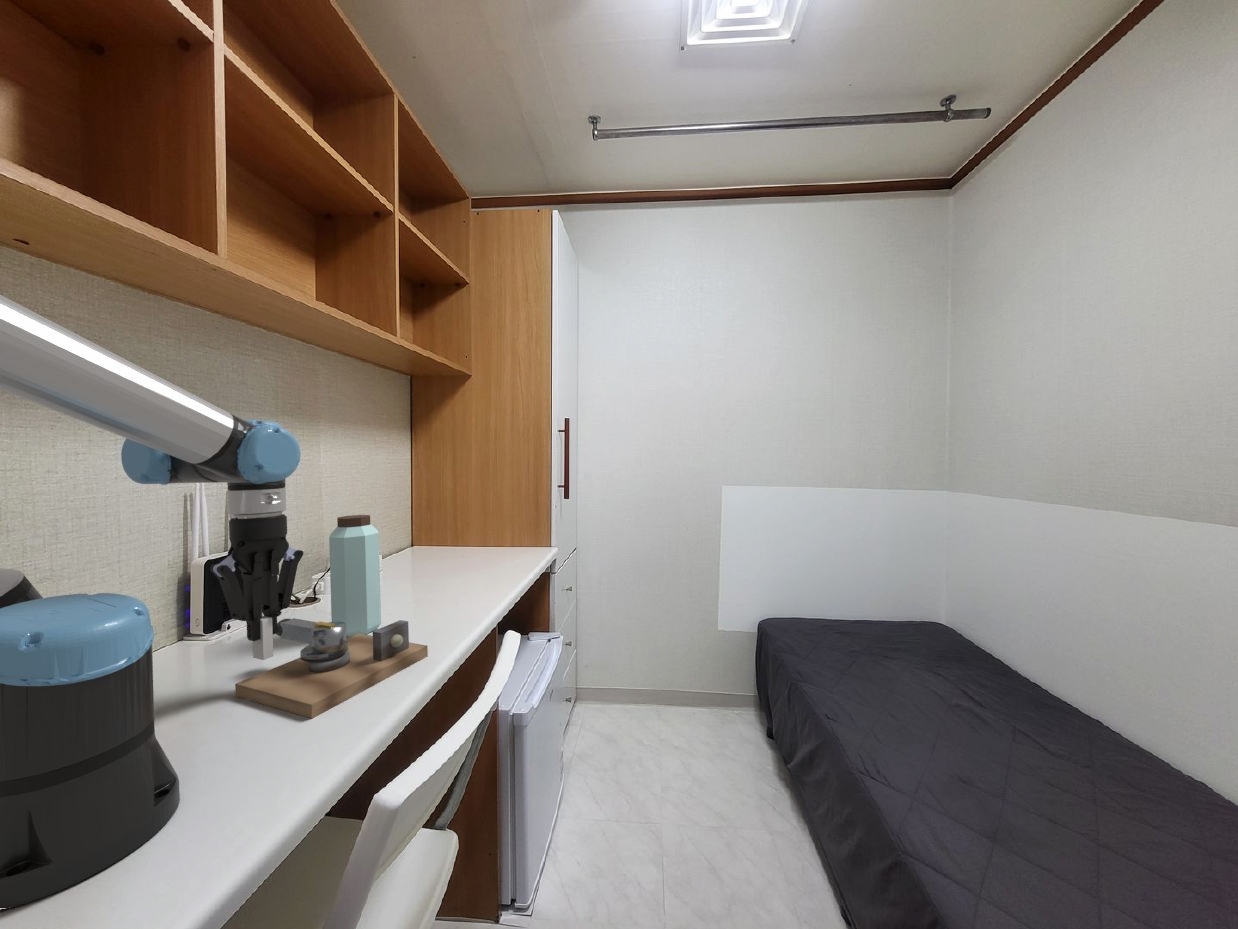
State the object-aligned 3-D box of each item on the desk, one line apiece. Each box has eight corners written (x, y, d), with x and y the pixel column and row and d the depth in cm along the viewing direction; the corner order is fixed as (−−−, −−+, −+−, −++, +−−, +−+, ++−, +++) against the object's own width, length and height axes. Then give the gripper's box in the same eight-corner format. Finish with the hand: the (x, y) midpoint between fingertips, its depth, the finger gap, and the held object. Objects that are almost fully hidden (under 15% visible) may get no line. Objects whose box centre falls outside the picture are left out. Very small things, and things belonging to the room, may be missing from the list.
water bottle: (342, 643, 94) (338, 521, 93) (322, 632, 100) (319, 517, 99) (391, 628, 102) (388, 515, 101) (370, 619, 108) (367, 512, 107)
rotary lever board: (312, 718, 66) (310, 670, 66) (235, 696, 73) (233, 652, 73) (427, 656, 87) (426, 619, 87) (359, 643, 93) (358, 609, 93)
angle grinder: (358, 648, 82) (357, 619, 81) (319, 665, 75) (318, 633, 75) (299, 637, 87) (298, 609, 87) (259, 651, 81) (258, 622, 81)
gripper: (226, 521, 68) (231, 678, 68) (313, 510, 80) (317, 644, 81) (196, 519, 71) (202, 671, 71) (285, 509, 83) (289, 639, 83)
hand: (263, 656), depth 76 cm, fingers closed
